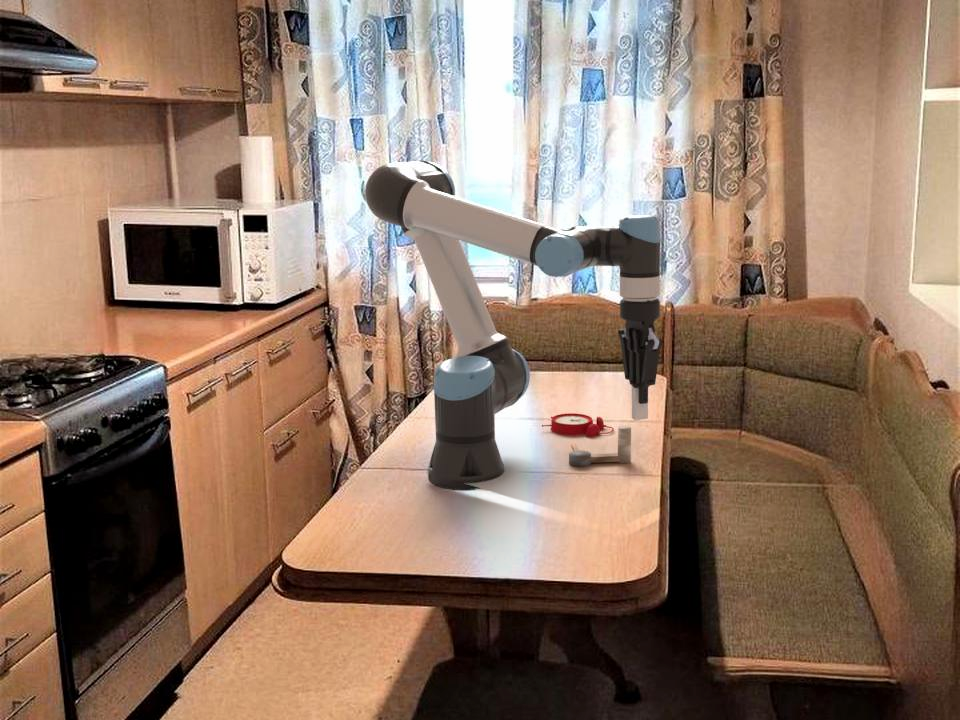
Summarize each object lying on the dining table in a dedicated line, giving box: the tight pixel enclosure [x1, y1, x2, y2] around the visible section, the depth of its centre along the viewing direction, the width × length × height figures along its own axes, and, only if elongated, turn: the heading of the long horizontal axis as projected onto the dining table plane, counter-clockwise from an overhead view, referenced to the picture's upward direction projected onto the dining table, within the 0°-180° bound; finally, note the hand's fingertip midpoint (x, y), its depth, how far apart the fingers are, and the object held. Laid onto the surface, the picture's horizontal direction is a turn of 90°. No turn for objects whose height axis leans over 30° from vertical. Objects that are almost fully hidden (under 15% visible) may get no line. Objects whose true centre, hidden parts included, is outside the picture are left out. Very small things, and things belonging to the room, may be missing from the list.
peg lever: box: [568, 425, 632, 468], centre depth 208 cm, size 12×10×7 cm
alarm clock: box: [541, 412, 614, 438], centre depth 228 cm, size 10×6×15 cm
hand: (639, 418), depth 198 cm, fingers closed
